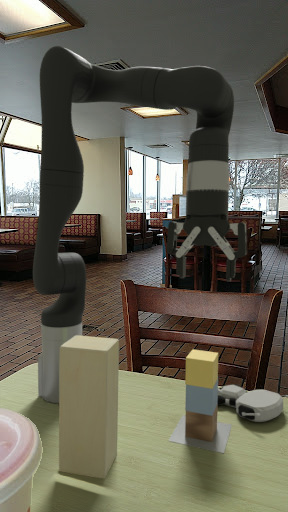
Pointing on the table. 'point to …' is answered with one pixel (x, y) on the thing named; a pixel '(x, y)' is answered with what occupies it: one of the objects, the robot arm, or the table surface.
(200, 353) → the yellow cube
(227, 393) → the robot toy
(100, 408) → the cream tall block
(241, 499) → the table surface
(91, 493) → the table surface
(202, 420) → the brick walnut
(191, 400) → the brick blue
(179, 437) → the base plate
